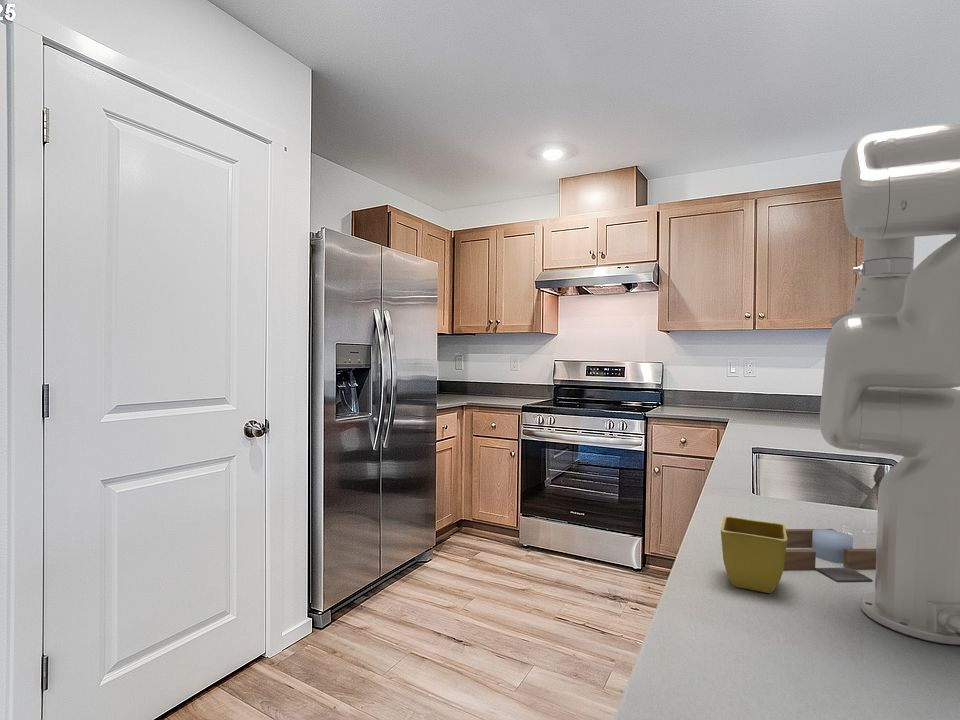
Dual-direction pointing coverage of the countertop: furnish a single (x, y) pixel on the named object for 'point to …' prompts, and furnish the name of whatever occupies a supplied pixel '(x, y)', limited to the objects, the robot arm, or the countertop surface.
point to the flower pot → (753, 553)
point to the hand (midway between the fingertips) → (883, 363)
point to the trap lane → (807, 561)
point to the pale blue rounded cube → (831, 544)
